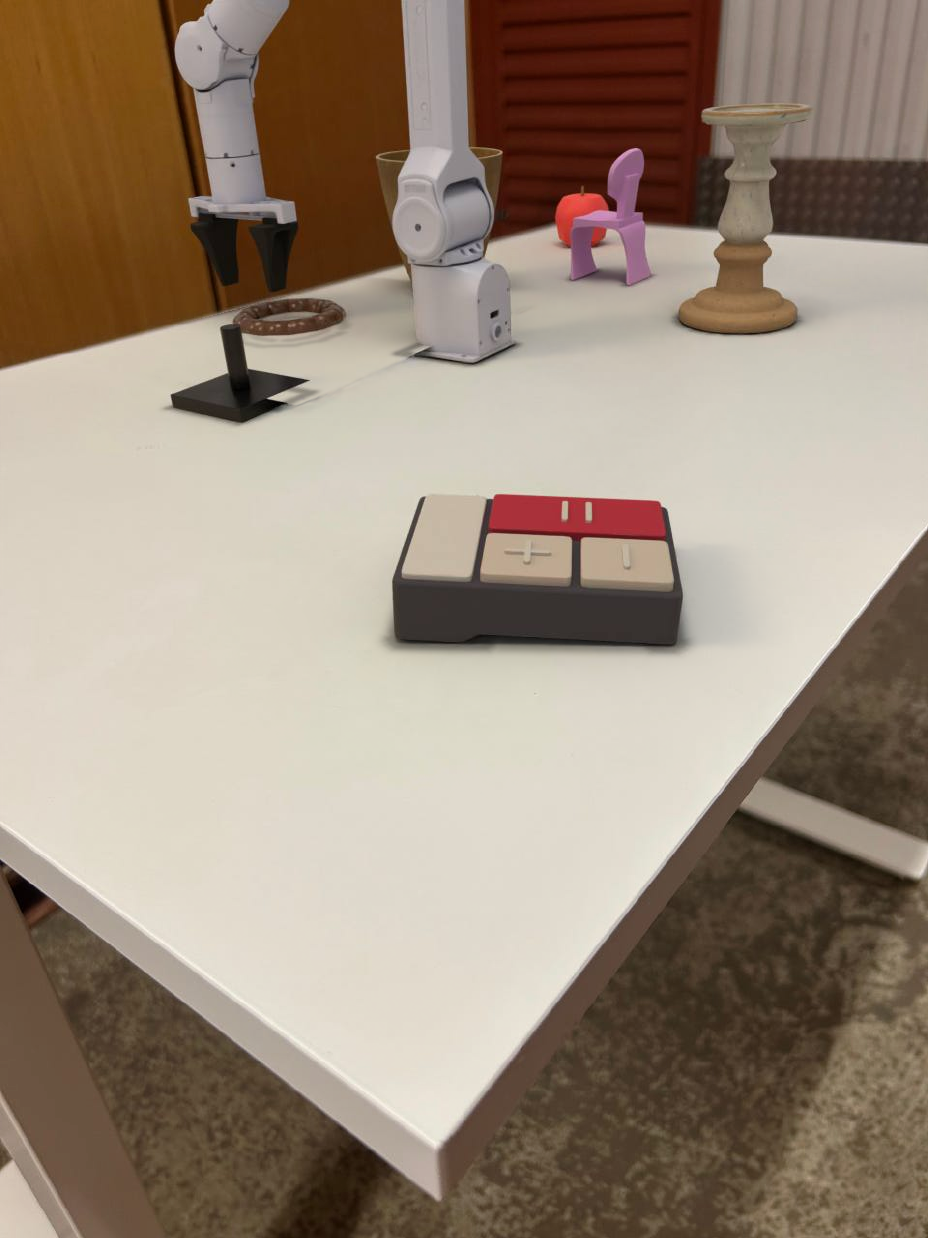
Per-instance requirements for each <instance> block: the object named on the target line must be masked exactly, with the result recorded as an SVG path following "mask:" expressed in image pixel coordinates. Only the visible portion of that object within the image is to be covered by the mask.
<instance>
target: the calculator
mask: <svg viewBox="0 0 928 1238" xmlns="http://www.w3.org/2000/svg"><path fill="white" fill-rule="evenodd" d="M673 538H674V537H673V531H672V526H671V521H670V516H669V511H668V509H667V507H664V506H662V503H661V502H660V501H659V500H649V499H629V498H628V499H627V498H607V497H605V498H603V497H602V498H601V497H581V496H579V497H578V496H558V495H556V496H554V495H536V494H535V495H533V494H532V495H531V494H512V493H511V494H508V493H496V494H494V496H493V498H487V497H486V496H484V495H466V494H465V495H463V494H445V493H444V494H441V493H439V494H438V493H428V494H426V496H422V497H420V498H419V500H418V502H417V505H416V509H415V511H414V515H413V517H412V519H411V523H410V525H409V528H408V533H407V535H406V538H405V541H404V544H403V546H402V550H401V553H400V555H399V558H398V562H397V564H396V566H395V570H394V573H393V577H392V580H391V588H392V589H391V591H392V592H391V593H392V611H393V612H392V613H393V614H392V615H393V634H394V636H395V637H396V638H397V639H400V640H406V641H407V640H409V641H426V642H443V643H444V642H445V643H464V642H466V641H468V640H470V639H472V638H474V637H476V636H479V635H491V636H508V637H525V638H541V639H543V638H544V639H561V640H580V641H598V642H599V641H600V642H613V643H614V642H617V643H632V644H633V643H635V644H651V645H652V644H653V645H673V644H676V643H677V641H678V635H679V628H680V621H681V616H682V615H681V614H682V606H683V599H684V593H683V586H682V582H681V577H680V576H681V575H680V571H679V565H678V560H677V553H676V549H675V543H674V539H673Z"/></svg>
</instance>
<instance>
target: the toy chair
mask: <svg viewBox="0 0 928 1238" xmlns="http://www.w3.org/2000/svg"><path fill="white" fill-rule="evenodd" d="M644 167H645V159H644V154H643V151H642V149H640V148H637V147H634V148H630V149H628V150H626V151H625V152H623V153H621V155H620V156H618V157H617V158H616V159H615V160H614V162H612V164H611V166H610V168H609V170H608V171H609V172H608V177H607V195H608V196H609V197H611V199H614V201H615V202H616V211H611V210H609V211H602V210H598V211H594V212H592V213H590V214H588V215H585V216H580V217H576V218H573V227H572V228H571V230H570V242H571V247H570V256H571V261H570V263H571V265H570V266H571V267H570V268H571V269H570V280H571V281H575V280H577V279H580V278H582V277H585V276H588V275H590V274H592V273H593V272H596V271H597V272H598V268H597V265H596V263H595V260H594V255H593V253H592V247H591V239H592V234H593V231H594V228H595V227H602V228H607V230H613V231H616V232H617V233H618V235H619V237H620V240H621V242H622V245H623V248H624V253H625V260H626V283H625V284H626V286H632V285H634V284H636V283H639V282H640V281H643V280H644V279H646V278H649V277H651V276H652V272H651V269H650V266H649V261H648V259H647V256H646V255H647V254H646V224H645V221H644V220H643V219H644V212H639V211H638V212H635V211H636V204H637V197H638V191H639V186H640V185H639V184H640V180H641V178H642V176H643V174H644V169H645V168H644Z"/></svg>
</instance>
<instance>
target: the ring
mask: <svg viewBox="0 0 928 1238" xmlns="http://www.w3.org/2000/svg"><path fill="white" fill-rule="evenodd" d="M288 313H313V314H315V315H312V316H306V317H301V318H293V319H284V320H283V319H280V320H278V319H277V320H276V319H275V320H263V319H264V318H267V317H272V316H276V315H281V314H288ZM346 317H347V311H346V310H345V308H344V307H343V306H341V305H340V304H338V303H337V302H335V301H333V300H331V299H324V298H323V299H322V298H315V297H298V298H297V297H295V298H294V297H293V298H282V299H276V300H270V301H264V302H260V303H257V304H254V305H250V306H248V307H245V308H243V309H242V310H241V311H240V312H239V313H238V314H236V315H235V316H234V317H233V319H232V323H231V324H239V325H240V326H241V332H242V334H244V335H245V334H247V335H252V336H253V335H254V336H259V337H271V336H272V337H273V336H276V337H277V336H294V335H299V334H305V333H306V334H307V333H312V332H318V331H322V330H325V329H328V328H330V327H333V326H337V325H338V324H339V325H340V324H341V323H342V322H343V321H344V319H345V318H346Z"/></svg>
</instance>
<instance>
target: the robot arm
mask: <svg viewBox="0 0 928 1238" xmlns="http://www.w3.org/2000/svg"><path fill="white" fill-rule="evenodd" d="M289 6H290V0H212V2H211V3H208V4H207V5H206V6H205V8H204V10H203V13H204V15H203V16H200V17H199V18H198V20H196V21H187V22H185V23H182V25H180V27H179V31H178V33H177V35H176V38H175V42H174V59H175V63H176V66H177V69H178V71H179V74H180V76H181V77H182V79H183V80H184V81H185V82H186V84H188V85H189V86H190V87H192V89H193V94H194V100H195V106H196V112H197V118H198V124H199V128H200V129H199V130H200V135H201V140H202V147H203V152H204V158H205V164H206V169H207V170H206V171H207V175H208V176H207V177H208V180H209V181H208V182H209V186H210V187H209V188H210V192H211V195H210V196H209V195H200V196H194V197H189V198H188V199H187V200H188V205H189V210H190V217H192V218H197V221H194V222H191V223H189V225H190V231H191V232H192V234H194V236H195V237H196V238H197V239H198V241H199V242H200V243H201V246H202V247H203V249H204V250H205V252H206V253H207V256H208V257H209V259H210V262H211V263H212V266H213V268H214V270H215V273H216V275H217V277H218V280H219V282H220V284H221V286H222V287H229V286H232V285H235V284H239V281H240V279H239V278H240V276H239V275H240V272H239V264H238V255H237V235H238V234H237V233H238V225H239V220H247V221H260V222H262V223H258V224H254V225H250V226H248V232H249V234H250V236H251V238H252V240H253V241H254V244H255V246H256V248H257V252H258V254H259V257H260V261H261V265H262V270H263V275H264V280H265V284H266V287H267V290H268V292H269V293H276V292H279V291H283V290H286V289H287V280H288V279H287V278H288V269H289V262H290V256H291V252H292V248H293V244H294V241H295V238H296V235H297V234H298V231H299V227H300V226H299V222H298V220H297V219H298V218H297V213H296V204H295V201H291V200H284V199H279V198H274V197H269V196H267V194H266V188H265V181H264V174H263V167H262V162H261V160H262V159H261V154H260V148H259V147H260V146H259V139H258V133H257V125H256V120H255V112H254V106H253V105H254V104H253V103H254V101H255V100H254V98H256V93H255V80H256V77H257V75H258V71H259V63H260V58H259V57H260V56H259V51H260V50H261V48H262V47H263V45H264V44H265V42H266V41H267V40H268V38H269V37H270V35H271V34H272V32H273V30H274V29H275V28H276V26H277V25H278V24H279V22H280V21H281V19H282V17H283V16H284V14H285V13H286V12H287V10H288V9H289ZM465 10H466V9H465V0H401V15H402V30H403V31H402V32H403V48H404V49H403V50H404V66H405V83H406V97H407V98H406V99H407V100H406V101H407V115H408V116H407V117H408V132H409V150H410V153H409V156H408V158H407V160H406V162H405V164H404V166H403V168H402V170H401V172H400V174H399V177H398V199H397V203H396V206H395V209H394V212H393V218H392V225H393V230H392V233H393V232H394V233H393V235H394V236H395V237H394V239H396V240H395V242H396V241H397V243H398V245H399V247H400V248H401V250H402V251H403V252H404V253H405V254H406V255H407V257H408V263H409V264H411V274H412V283H411V286H412V287H411V288H412V297H413V299H412V300H413V311H414V323H415V325H414V326H415V338H416V342H418V343H419V344H421V345H424V346H429V347H427V348H425V349H422V350H420V351H417V352H415V353H414V355H419V356H425V357H432V358H438V359H444V360H452V361H457V362H463V363H470V364H471V363H477V362H479V361H481V360H483V359H485V358H488V357H489V356H492V355H493V354H496V353H498V352H500V351H502V350H504V349H507V348H508V347H510V346H512V345H514V344H516V338H514V337H512V313H511V312H512V310H511V283H510V279H509V275H508V272H507V270H506V268H505V267H504V266H503V265H501V264H500V263H497V262H492V261H489V260H488V259H486V258H484V257H483V251H484V239H485V238H486V237H487V235H488V234H489V232H490V230H491V231H492V229H491V228H493V225H494V221H495V213H494V207H493V203H492V200H491V197H490V195H489V193H488V190H487V187H486V183H485V168H484V166H483V164H482V163H481V162H480V161H479V160H478V158H477V157H476V156H475V155H474V154H473V153H472V152H471V150H470V149H469V147H470V146H469V143H470V142H469V114H468V113H469V111H468V110H469V109H468V80H467V79H468V78H467V52H466V51H467V48H466V47H467V45H466V42H467V41H466V15H465V14H466V12H465ZM397 243H396V244H397Z"/></svg>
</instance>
